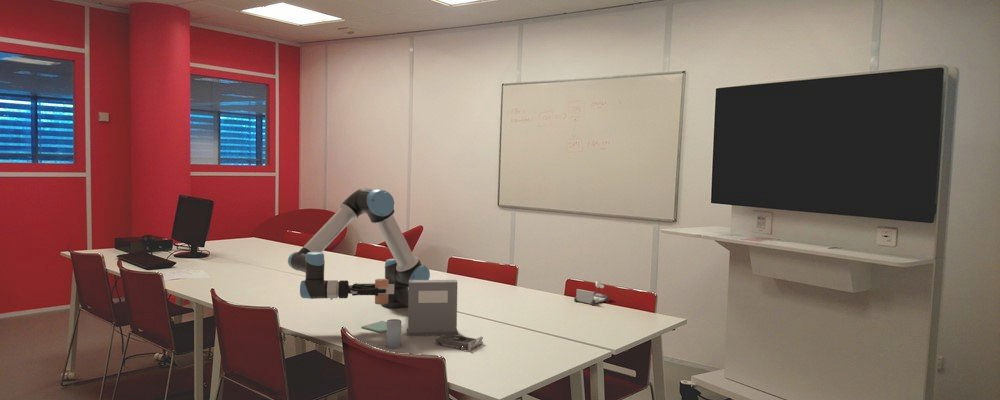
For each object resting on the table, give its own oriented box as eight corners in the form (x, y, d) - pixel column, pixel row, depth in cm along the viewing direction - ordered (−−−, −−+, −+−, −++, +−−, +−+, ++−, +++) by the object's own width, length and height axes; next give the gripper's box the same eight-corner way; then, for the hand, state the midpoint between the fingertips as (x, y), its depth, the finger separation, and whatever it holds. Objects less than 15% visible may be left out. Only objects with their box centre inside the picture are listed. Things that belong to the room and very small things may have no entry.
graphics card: (485, 336, 242) (470, 343, 231) (485, 345, 242) (470, 353, 231) (449, 330, 249) (433, 337, 239) (449, 339, 250) (433, 346, 239)
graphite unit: (406, 331, 257) (407, 279, 255) (456, 330, 260) (457, 279, 258) (406, 335, 250) (407, 283, 248) (457, 334, 253) (458, 282, 251)
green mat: (361, 327, 260) (361, 326, 260) (382, 322, 270) (382, 320, 270) (380, 333, 253) (380, 331, 253) (401, 327, 263) (401, 325, 263)
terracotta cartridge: (372, 303, 260) (372, 279, 259) (381, 300, 264) (382, 278, 264) (381, 305, 256) (381, 281, 256) (390, 302, 261) (391, 279, 260)
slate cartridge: (383, 346, 235) (383, 321, 234) (393, 343, 240) (394, 318, 239) (393, 349, 232) (393, 323, 231) (404, 346, 236) (404, 320, 236)
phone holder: (594, 279, 329) (612, 282, 321) (593, 297, 330) (611, 301, 322) (574, 283, 316) (592, 287, 308) (573, 302, 317) (592, 306, 309)
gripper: (340, 293, 267) (394, 293, 270) (336, 303, 248) (393, 302, 252) (340, 276, 266) (394, 276, 270) (336, 285, 248) (393, 284, 251)
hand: (394, 289), depth 261 cm, fingers closed on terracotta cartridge, 5 cm apart
